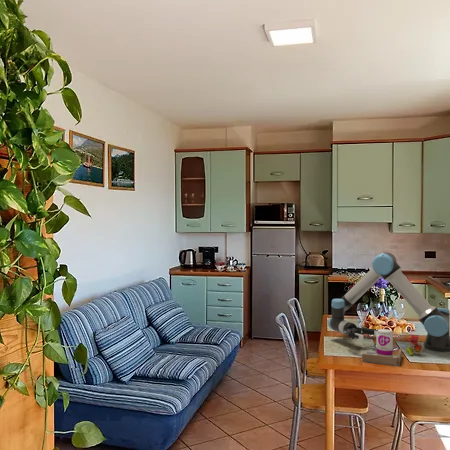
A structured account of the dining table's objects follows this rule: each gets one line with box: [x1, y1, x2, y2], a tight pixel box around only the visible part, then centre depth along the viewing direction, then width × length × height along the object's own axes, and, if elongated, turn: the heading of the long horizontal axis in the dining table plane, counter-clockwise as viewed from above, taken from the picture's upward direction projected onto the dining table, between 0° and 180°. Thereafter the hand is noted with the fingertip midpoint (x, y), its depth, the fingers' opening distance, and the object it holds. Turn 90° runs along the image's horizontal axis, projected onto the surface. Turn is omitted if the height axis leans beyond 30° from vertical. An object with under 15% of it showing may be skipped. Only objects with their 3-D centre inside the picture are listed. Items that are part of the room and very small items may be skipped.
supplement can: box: [375, 328, 394, 357], centre depth 236 cm, size 8×8×15 cm
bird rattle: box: [405, 334, 425, 357], centre depth 245 cm, size 6×11×9 cm
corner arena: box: [361, 348, 403, 367], centre depth 238 cm, size 18×18×4 cm
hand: (373, 337), depth 244 cm, fingers open, 13 cm apart
